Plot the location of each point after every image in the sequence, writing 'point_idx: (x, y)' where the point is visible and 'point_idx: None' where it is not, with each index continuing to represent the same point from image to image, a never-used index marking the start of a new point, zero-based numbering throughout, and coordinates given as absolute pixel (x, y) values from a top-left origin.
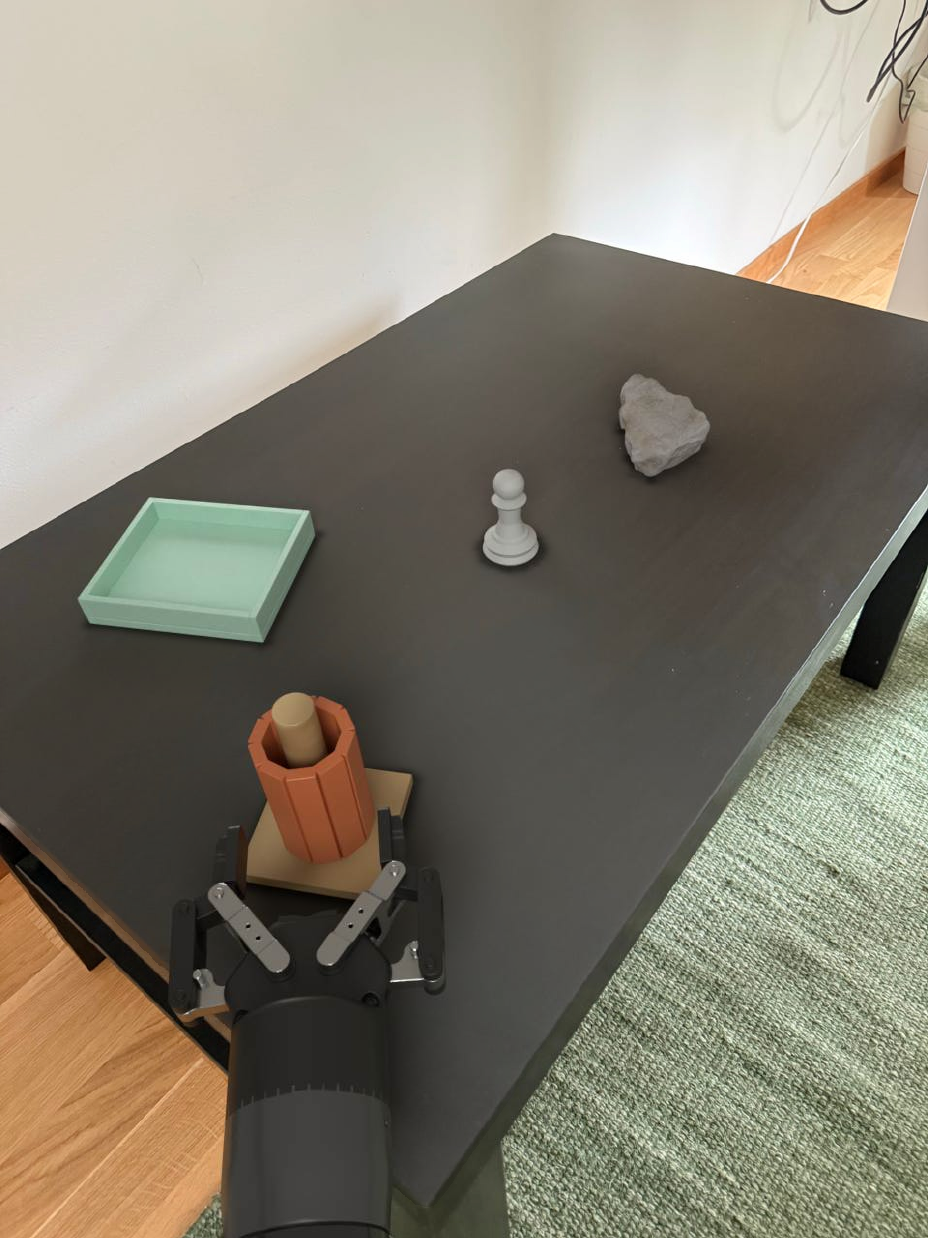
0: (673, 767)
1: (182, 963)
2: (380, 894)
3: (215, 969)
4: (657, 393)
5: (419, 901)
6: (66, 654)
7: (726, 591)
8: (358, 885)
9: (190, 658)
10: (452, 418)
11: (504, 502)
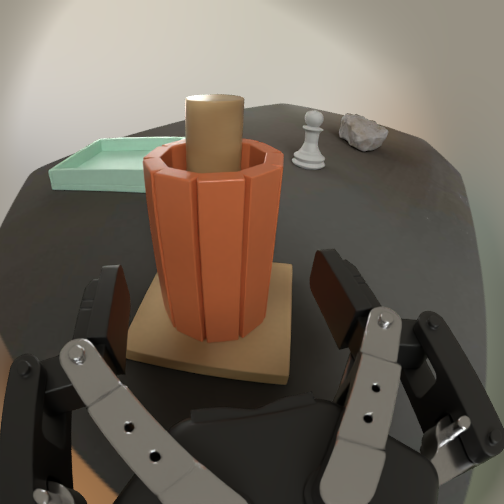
0: (460, 264)
1: (15, 466)
2: (384, 356)
3: (100, 448)
4: (362, 117)
5: (441, 356)
6: (35, 203)
7: (426, 191)
8: (264, 365)
9: (102, 201)
10: (256, 129)
11: (312, 127)
